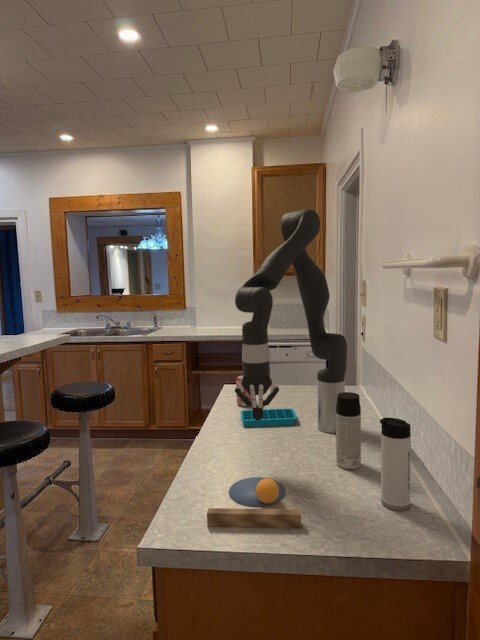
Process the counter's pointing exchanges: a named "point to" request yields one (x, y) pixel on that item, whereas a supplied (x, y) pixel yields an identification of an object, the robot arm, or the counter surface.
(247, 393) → the soda can
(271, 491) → the ball
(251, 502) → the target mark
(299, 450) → the counter surface
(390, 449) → the travel mug
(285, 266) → the robot arm
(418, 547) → the counter surface
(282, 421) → the ice cube tray
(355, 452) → the spray can
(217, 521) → the wall
